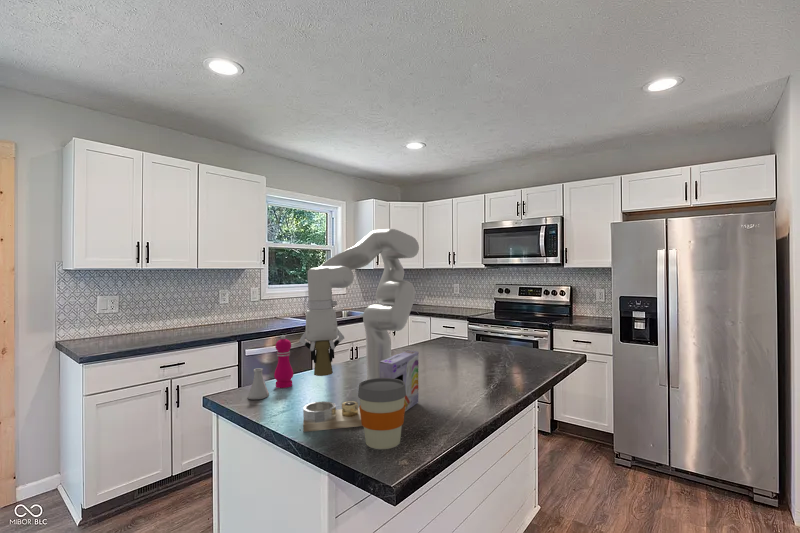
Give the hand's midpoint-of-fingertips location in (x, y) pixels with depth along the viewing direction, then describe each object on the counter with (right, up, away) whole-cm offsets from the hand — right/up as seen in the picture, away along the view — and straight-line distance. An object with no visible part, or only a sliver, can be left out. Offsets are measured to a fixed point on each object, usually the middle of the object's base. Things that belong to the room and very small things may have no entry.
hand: (322, 360), depth 131 cm
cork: (0, -4, 0) cm, 4 cm away
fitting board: (+6, -15, -12) cm, 20 cm away
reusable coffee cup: (+21, -15, -26) cm, 37 cm away
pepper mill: (-21, -16, +28) cm, 38 cm away
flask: (-26, -17, +14) cm, 34 cm away
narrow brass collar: (+10, -13, -11) cm, 20 cm away
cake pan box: (+25, -15, -4) cm, 30 cm away
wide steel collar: (+1, -13, -13) cm, 19 cm away
